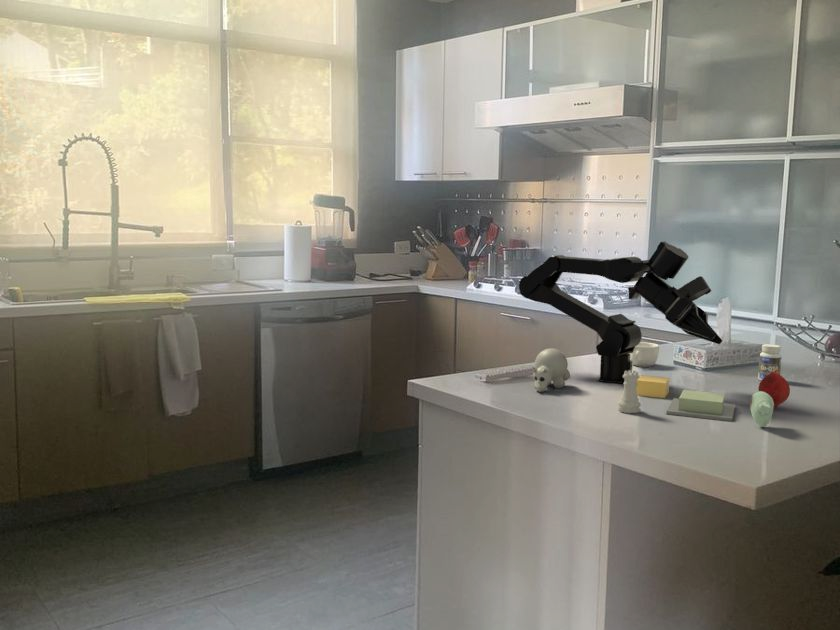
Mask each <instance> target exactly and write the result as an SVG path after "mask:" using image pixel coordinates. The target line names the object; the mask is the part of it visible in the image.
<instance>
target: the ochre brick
mask: <svg viewBox="0 0 840 630" xmlns="http://www.w3.org/2000/svg"><path fill="white" fill-rule="evenodd" d="M637 384H638V385H637V396H641V397H649V398H650V397H651V398H658V397H659V398H660V399H665V398H666V397H667V395H668V394H669V392H670V391H669V390H670V377H666V376H665V377H664V376H654V375H643V374H641V375H640V376H639V378H638V380H637ZM659 398H658V399H659Z"/></svg>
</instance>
